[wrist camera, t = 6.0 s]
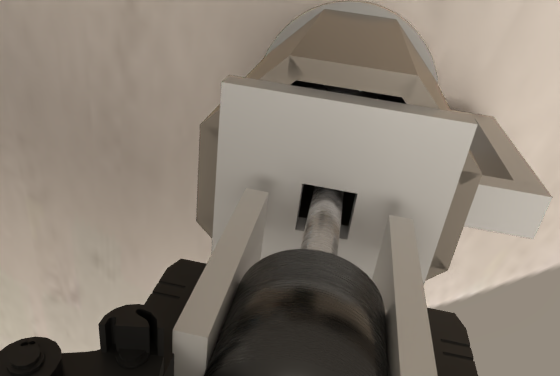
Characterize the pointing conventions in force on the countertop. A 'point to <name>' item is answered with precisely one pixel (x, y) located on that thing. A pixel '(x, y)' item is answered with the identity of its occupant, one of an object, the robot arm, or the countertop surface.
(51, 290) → the countertop surface
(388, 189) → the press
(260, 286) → the plunger
